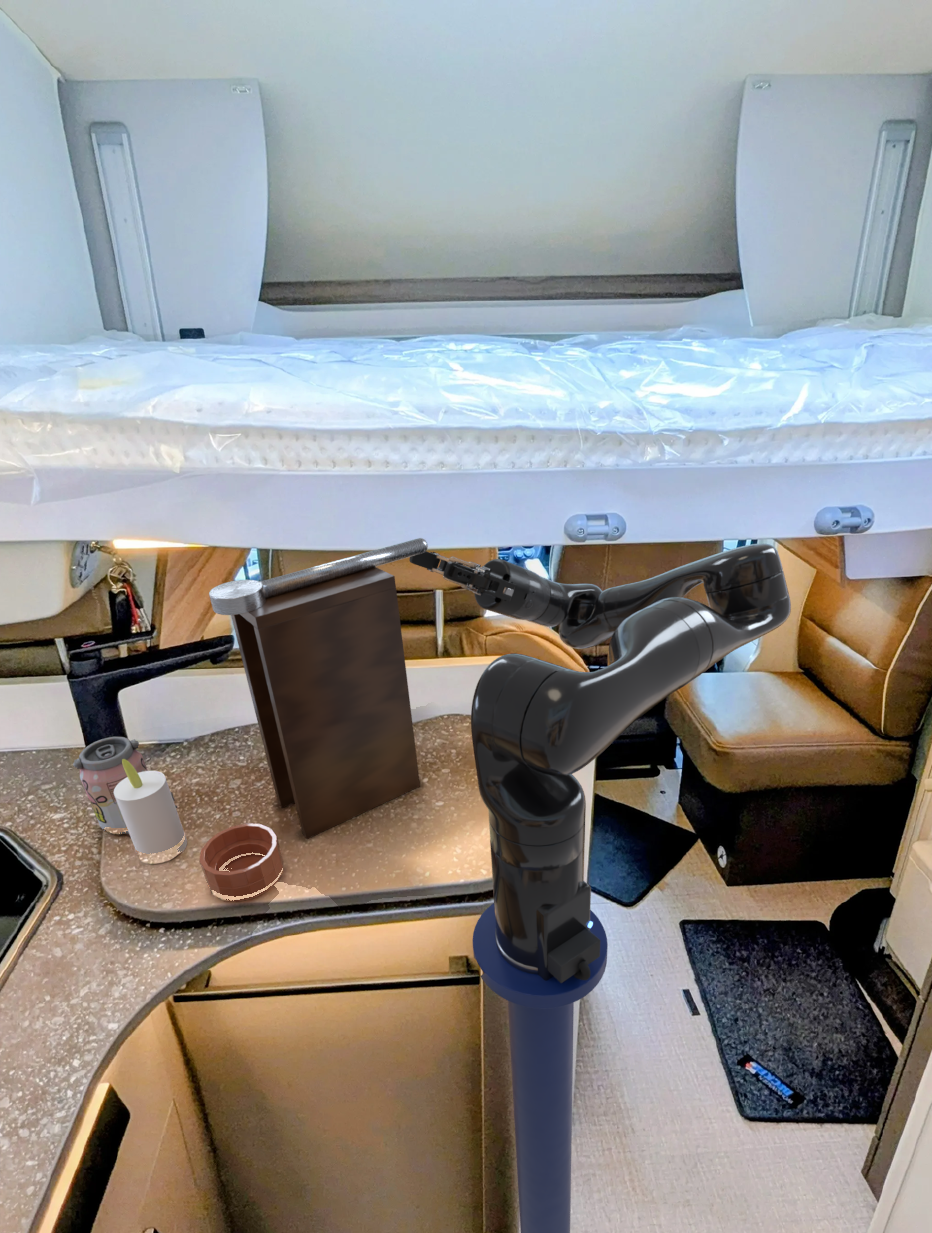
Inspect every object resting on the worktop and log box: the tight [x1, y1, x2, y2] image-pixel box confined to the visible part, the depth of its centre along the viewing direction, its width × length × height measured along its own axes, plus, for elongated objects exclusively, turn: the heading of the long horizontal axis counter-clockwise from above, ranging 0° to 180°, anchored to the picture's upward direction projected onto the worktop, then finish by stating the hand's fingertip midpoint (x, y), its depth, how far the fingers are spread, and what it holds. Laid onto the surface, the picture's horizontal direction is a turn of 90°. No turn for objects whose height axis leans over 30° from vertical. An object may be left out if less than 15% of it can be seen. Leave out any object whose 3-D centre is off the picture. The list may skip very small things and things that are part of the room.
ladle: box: [208, 537, 429, 616], centre depth 87 cm, size 29×6×2 cm, turn 124°
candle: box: [114, 759, 188, 854], centre depth 91 cm, size 6×6×15 cm
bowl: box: [198, 822, 285, 903], centre depth 87 cm, size 9×9×5 cm
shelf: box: [230, 566, 421, 840], centre depth 94 cm, size 18×10×32 cm, turn 124°
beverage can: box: [72, 736, 149, 835], centre depth 98 cm, size 9×8×12 cm
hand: (429, 561), depth 95 cm, fingers open, 8 cm apart
